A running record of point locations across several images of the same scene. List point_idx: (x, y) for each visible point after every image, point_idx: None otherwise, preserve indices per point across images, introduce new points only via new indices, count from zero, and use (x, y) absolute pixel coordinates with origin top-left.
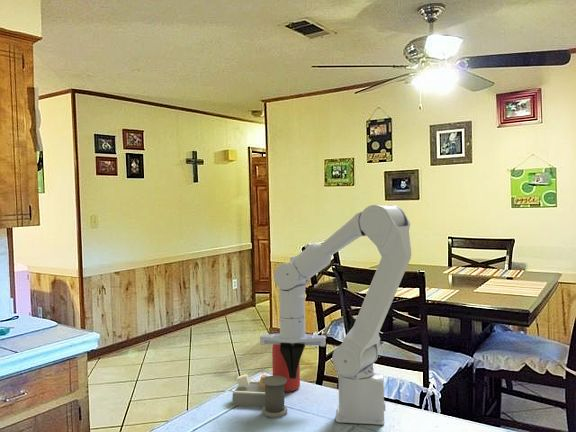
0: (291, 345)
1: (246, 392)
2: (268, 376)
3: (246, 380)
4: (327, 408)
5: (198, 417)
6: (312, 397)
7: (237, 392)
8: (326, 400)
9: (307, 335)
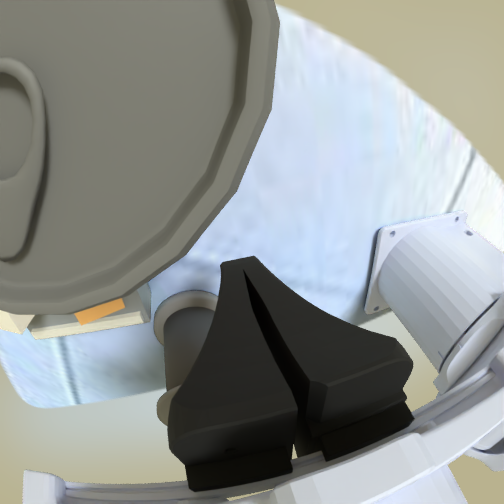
0: (287, 451)
1: (71, 334)
2: (165, 401)
3: (29, 319)
4: (347, 240)
5: (40, 378)
6: (289, 159)
7: (44, 337)
8: (343, 176)
9: (472, 431)
